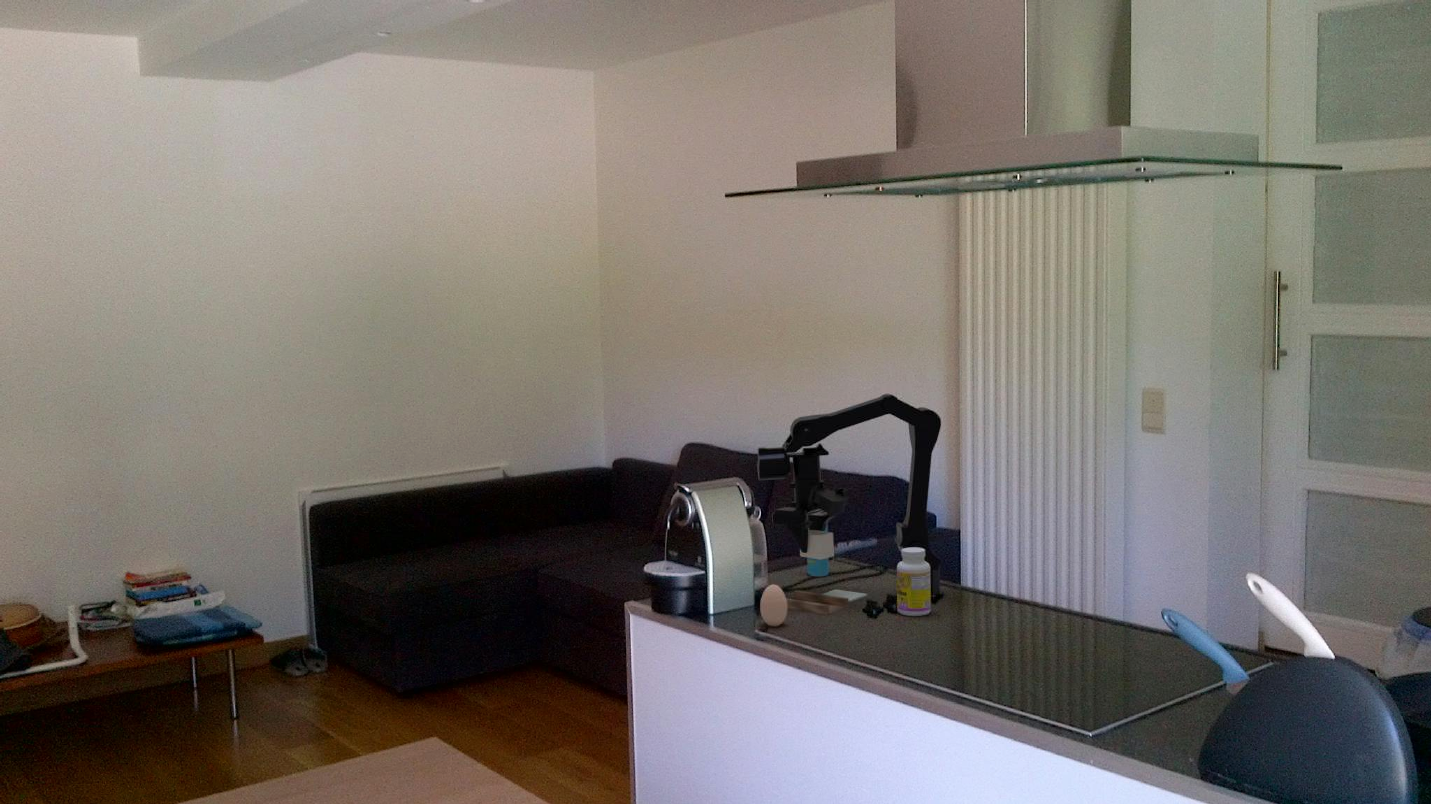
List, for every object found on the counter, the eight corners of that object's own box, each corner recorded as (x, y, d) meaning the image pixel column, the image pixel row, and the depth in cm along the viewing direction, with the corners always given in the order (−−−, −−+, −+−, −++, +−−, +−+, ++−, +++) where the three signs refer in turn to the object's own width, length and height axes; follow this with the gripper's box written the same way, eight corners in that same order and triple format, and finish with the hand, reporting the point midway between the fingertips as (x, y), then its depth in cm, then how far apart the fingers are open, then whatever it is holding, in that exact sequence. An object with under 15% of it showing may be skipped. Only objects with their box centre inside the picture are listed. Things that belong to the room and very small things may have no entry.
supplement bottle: (893, 609, 256) (892, 547, 255) (925, 607, 256) (924, 545, 255) (902, 617, 249) (901, 553, 248) (935, 616, 250) (934, 552, 249)
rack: (848, 607, 258) (848, 598, 258) (826, 616, 252) (826, 606, 252) (797, 599, 266) (796, 590, 266) (774, 607, 260) (774, 597, 260)
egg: (758, 623, 247) (757, 582, 247) (784, 622, 248) (783, 580, 248) (763, 630, 242) (762, 588, 241) (790, 629, 243) (789, 586, 242)
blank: (834, 556, 264) (832, 532, 263) (820, 559, 261) (819, 535, 261) (813, 553, 268) (812, 529, 268) (800, 556, 266) (799, 532, 265)
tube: (799, 574, 291) (797, 491, 289) (813, 570, 294) (812, 488, 292) (823, 578, 285) (821, 494, 284) (837, 575, 289) (836, 491, 287)
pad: (867, 596, 267) (866, 594, 267) (845, 604, 261) (845, 601, 261) (835, 592, 272) (835, 589, 272) (814, 599, 266) (814, 596, 266)
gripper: (812, 486, 252) (817, 563, 254) (864, 472, 267) (867, 545, 268) (768, 483, 259) (772, 558, 261) (820, 470, 274) (824, 541, 275)
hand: (811, 550), depth 266 cm, fingers closed on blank, 4 cm apart
